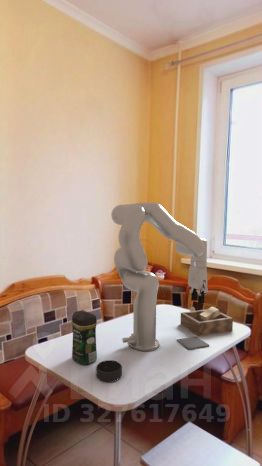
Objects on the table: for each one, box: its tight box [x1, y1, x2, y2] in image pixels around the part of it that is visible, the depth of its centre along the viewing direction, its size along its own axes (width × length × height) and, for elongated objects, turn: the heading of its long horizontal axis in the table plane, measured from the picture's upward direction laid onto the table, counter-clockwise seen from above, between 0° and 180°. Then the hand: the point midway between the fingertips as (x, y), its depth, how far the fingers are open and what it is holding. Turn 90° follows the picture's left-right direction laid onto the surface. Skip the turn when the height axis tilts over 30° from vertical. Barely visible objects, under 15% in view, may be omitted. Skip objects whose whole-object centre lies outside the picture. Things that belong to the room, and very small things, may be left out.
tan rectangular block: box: [200, 306, 221, 321], centre depth 160 cm, size 8×5×3 cm, turn 112°
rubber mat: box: [176, 335, 210, 351], centre depth 141 cm, size 10×10×1 cm
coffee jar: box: [71, 309, 98, 365], centre depth 124 cm, size 10×8×19 cm
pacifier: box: [189, 306, 196, 312], centre depth 172 cm, size 7×6×6 cm
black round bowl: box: [95, 359, 123, 383], centre depth 113 cm, size 9×9×4 cm
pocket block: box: [180, 308, 234, 337], centre depth 160 cm, size 19×16×6 cm
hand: (197, 301), depth 157 cm, fingers open, 4 cm apart
